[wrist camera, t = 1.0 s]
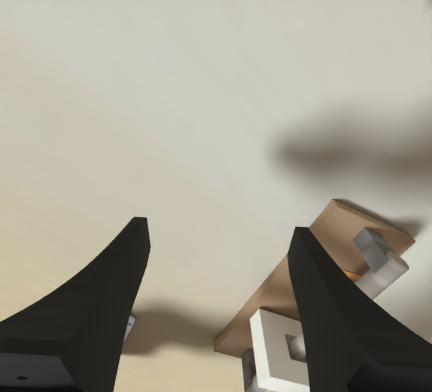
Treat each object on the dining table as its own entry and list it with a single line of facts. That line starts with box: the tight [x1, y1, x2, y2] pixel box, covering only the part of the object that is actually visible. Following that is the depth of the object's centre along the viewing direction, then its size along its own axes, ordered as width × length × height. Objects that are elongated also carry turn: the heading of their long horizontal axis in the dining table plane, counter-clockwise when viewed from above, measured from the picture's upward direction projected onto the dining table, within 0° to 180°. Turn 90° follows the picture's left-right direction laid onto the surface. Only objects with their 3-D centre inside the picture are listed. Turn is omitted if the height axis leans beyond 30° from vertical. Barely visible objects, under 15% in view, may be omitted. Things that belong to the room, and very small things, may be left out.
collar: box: [250, 309, 310, 392], centre depth 29 cm, size 2×8×7 cm, turn 64°
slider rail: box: [214, 200, 416, 392], centre depth 29 cm, size 24×9×6 cm, turn 154°
